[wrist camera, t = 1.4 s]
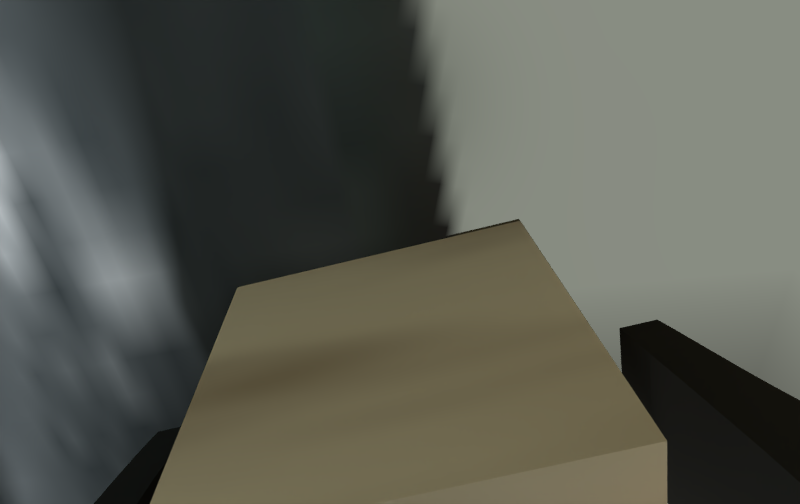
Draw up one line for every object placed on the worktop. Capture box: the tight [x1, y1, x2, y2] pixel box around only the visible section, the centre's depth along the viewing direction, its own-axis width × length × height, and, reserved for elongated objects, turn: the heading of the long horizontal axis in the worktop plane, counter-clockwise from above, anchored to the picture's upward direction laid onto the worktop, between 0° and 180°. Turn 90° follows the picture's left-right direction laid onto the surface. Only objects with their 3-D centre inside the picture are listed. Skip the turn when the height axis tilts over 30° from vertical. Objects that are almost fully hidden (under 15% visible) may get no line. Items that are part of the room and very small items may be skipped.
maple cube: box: [150, 219, 667, 504], centre depth 8 cm, size 5×5×5 cm
